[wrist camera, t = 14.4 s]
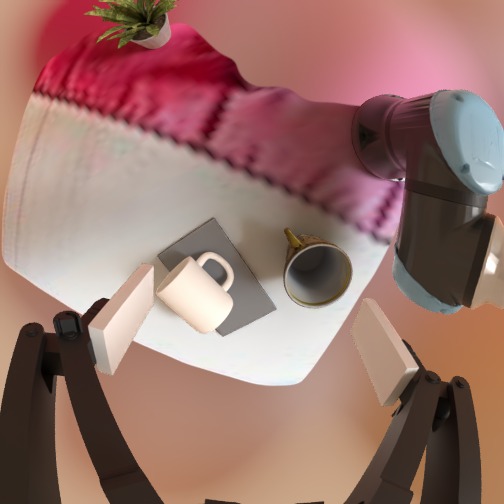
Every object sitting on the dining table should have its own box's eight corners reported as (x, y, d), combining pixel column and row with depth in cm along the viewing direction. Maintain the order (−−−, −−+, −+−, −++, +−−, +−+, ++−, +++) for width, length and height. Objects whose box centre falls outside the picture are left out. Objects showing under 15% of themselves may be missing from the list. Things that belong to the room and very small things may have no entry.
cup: (195, 327, 48) (153, 289, 45) (238, 279, 51) (200, 240, 48) (206, 341, 40) (156, 297, 37) (256, 284, 44) (212, 238, 41)
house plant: (188, -10, 29) (167, -61, 14) (216, 41, 34) (201, -8, 18) (116, 26, 31) (71, -8, 15) (137, 80, 35) (88, 53, 20)
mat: (276, 307, 50) (276, 309, 50) (223, 334, 52) (222, 336, 52) (214, 217, 44) (213, 218, 44) (158, 254, 46) (157, 256, 46)
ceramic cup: (342, 257, 47) (363, 282, 38) (297, 288, 49) (307, 320, 40) (303, 198, 43) (319, 211, 34) (254, 233, 45) (256, 255, 36)
